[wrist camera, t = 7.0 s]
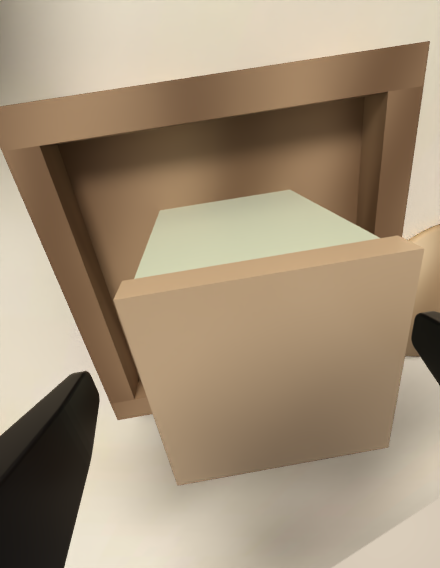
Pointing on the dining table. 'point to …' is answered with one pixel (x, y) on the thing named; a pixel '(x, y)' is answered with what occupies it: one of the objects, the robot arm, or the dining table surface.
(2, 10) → the dining table surface
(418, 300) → the cork coaster
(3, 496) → the robot arm
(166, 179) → the walnut tray
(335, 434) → the sage canister
